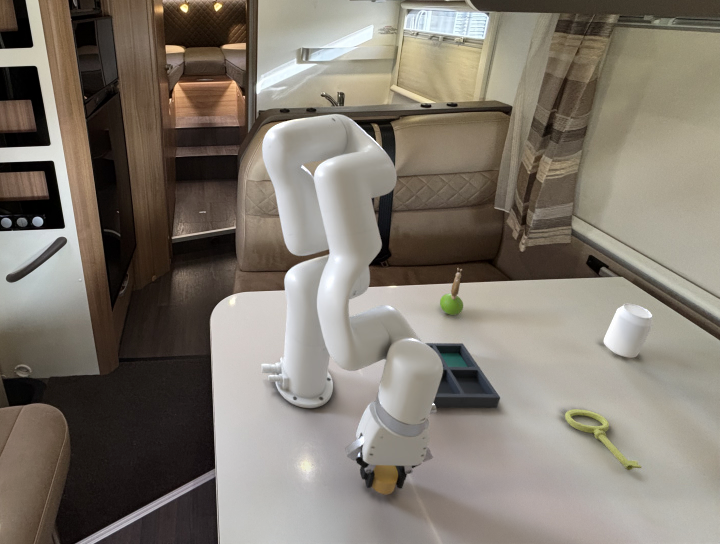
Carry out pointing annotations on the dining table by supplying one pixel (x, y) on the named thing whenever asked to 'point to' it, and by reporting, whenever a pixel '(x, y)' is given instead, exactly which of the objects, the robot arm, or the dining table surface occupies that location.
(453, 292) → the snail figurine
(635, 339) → the beverage can
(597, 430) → the key
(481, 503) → the dining table surface
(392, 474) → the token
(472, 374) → the grid
